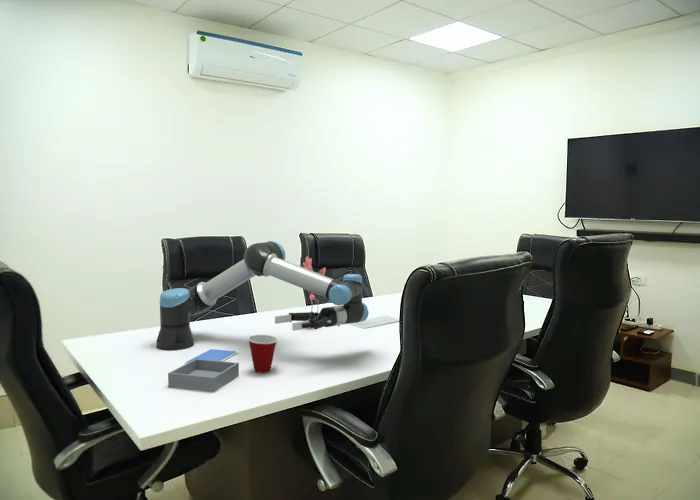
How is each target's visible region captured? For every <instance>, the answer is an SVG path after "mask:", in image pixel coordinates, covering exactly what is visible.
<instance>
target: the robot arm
mask: <svg viewBox="0 0 700 500" xmlns="http://www.w3.org/2000/svg"><path fill="white" fill-rule="evenodd" d="M318 273H319V272H316V271H314V270H313V271H311V270H308V269H306V268H304V267H303V266H300V265H297V264H295V263H292V262H290V261H288V260H286V250H285V249H284V247H283V246H282V244H281V243H279V242H277V241H272V240H269V241H266V242H264V241H263V242H257V243H253V244H250V245H249V246H248V247H247V248H246V249H245V252H244V254H243V259H242V260H240V261H238V262H237V263H236V264H234V265H231V266H230V267H229V268H227V269H226V270H224V271H222V272H221V273H220V274H218V275H216V276H214V277H213V278H211V279H210V280H208V281H206V282H205V281H201V282H199V283H196V284H195V285H193V286H192V287H191V288H184V287H183V288H182V287H179V288H178V287H177V288H170V289H167V290H164V291H163V292H161V293H160V297H159V314H160V315H159V317H160V318H159V322H160V324H159V325H160V329H159V332H158V336H157V338H156V341H155V342H156V343H155V344H156V345H155V346H156V348H157V349H159V350H165V351H166V350H167V351H175V350H176V351H177V350H178V351H179V350H184V349H188V348H191V347H193V346H194V345H195V338H194V336H193V332H192V329H191V327H190V322H191V321H190V317H193V316H196V315H200V314H204V313H205V312H208V311H209V310H210V309H211V308H212V307H213V306H214V305H216V303H217V300H218V299H219V298H221V297H223V296H225V295H226V294H228V293H229V292H232V290H234V289H236V288H237V287H240V286H241V285H242V284H244V283H246V282H247V281H249V280H251V279H253V278H254V277H256V276H257V277H262V276H264V277H269V276H270V277H273V278H275V279H278V280H279V281H280V280H281V281H283V282H285V283H287V284H288V283H289V284H290V285H293V286H296V287H297V288H301V289H303V290H306V291H308V292H309V293H311V292H312V293H313V294H316V295H318V296H320V297H324V298H326V299H328V300H329V301H330V302H331V303H332V304H333V305H334V306H328V307H327V306H326V307H322V308H321V309H320V311H319V312H318V313H317V312H314V311H312V312H311V311H309V312H308V311H307V312H288V314H284V315H277V316H276V315H275V316H274V324H275V325H276V324H283V323H284V324H285V323H292V331H302V330H309V329H314V330H318V329H321V328H323V327H324V328H329V327H335V326H337V327H341V326H342V325H348V324H354V323H355V324H358V323H362V322H364V321H366V320H367V319H368V317H369V314H370V313H369V309H368V306H367V304H365V302H364V303H363V276H362V275H361V274H359V273H358V274H357V273H348V274H344V275H343V280H342V281H339V280H336V279H334V278H331V277H330V276H329V277H328V276H326V275H325V274H324V275H321V274H318ZM293 321H294V322H293ZM309 322H310V323H309Z"/></svg>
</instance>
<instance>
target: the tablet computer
mask: <svg viewBox="0 0 700 500" xmlns="http://www.w3.org/2000/svg"><path fill="white" fill-rule="evenodd" d="M237 354H238V351H235V350H226V349H225V350H224V349H213V348H211V349H208V350H207V351H205V352H203V353H200V354H198V355H196V356H195V357H193V358H191V359H189V360H187V361H185V362H184V365H185V364H187V363H189V362H191V361H193V360H195V359H203V360H214V361H224V362H226V360H228V359H229V358H231V357H234V356H235V355H237Z"/></svg>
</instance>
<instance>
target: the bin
mask: <svg viewBox="0 0 700 500" xmlns="http://www.w3.org/2000/svg"><path fill="white" fill-rule="evenodd" d="M239 366H240V365H239V362H235V361H234V362H233V361H214V360H203V359H195V360H193V361H191V362H189V363H187V364H185V363H184V365H181V366H179V367H177V368H176V369H173V370H171V371H170V372H168V373H167V377H168V378H167V382H168V383H167V385H168V386H167V387H168V388H176V389H177V388H179V389H185V390H193V391H194V390H195V391H203V392H211V393H215V392H217V391H218V390H220V389H221V388H223V386H225V385H227V384H229V383H230V382H231V381H233V380H234V379H235V378H238V376H239V375H240V373H239V371H240V369H239V368H240V367H239Z"/></svg>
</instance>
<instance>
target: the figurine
mask: <svg viewBox="0 0 700 500" xmlns="http://www.w3.org/2000/svg"><path fill="white" fill-rule="evenodd" d="M312 260H313V259H312V257H310V258H309V256H308V255H307V256H306V257H305V262H303V263H302V267H303V268H306V269H308V270H311V271H313V272H314V270H313V266H312V263H313V261H312ZM326 271H327V268H326V267H323V268H321V269H320V270H319V272H317V273H318V274H321V275H324V276H325V274H326ZM312 293H313V292H310V295H309V297H308V298H309V300H310V302H311V308H313V307H314V306H313V305H314V304H313V300H315V301H317V305H319V300H318V299H316V297H315V295H314V294H312ZM310 312H313V309H311V311H310ZM317 313H318V314H319V308H317ZM309 323H310V322H309Z"/></svg>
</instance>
